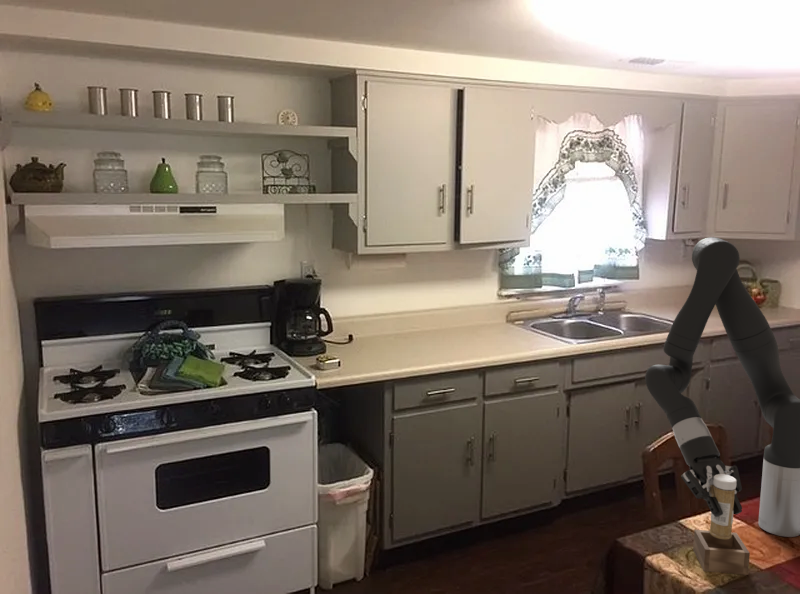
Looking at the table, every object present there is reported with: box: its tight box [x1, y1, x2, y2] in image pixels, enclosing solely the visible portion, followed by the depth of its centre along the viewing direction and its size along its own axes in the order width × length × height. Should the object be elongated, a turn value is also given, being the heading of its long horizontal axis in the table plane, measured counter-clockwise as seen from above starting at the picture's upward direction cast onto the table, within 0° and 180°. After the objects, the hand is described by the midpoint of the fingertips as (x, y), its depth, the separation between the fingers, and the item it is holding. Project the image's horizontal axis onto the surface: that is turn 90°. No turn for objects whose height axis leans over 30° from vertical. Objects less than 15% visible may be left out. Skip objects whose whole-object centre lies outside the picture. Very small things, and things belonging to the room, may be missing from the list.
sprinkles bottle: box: [708, 473, 737, 539], centre depth 149 cm, size 5×5×14 cm
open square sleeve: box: [692, 529, 751, 576], centre depth 150 cm, size 9×9×5 cm
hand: (728, 514), depth 147 cm, fingers closed on sprinkles bottle, 4 cm apart
